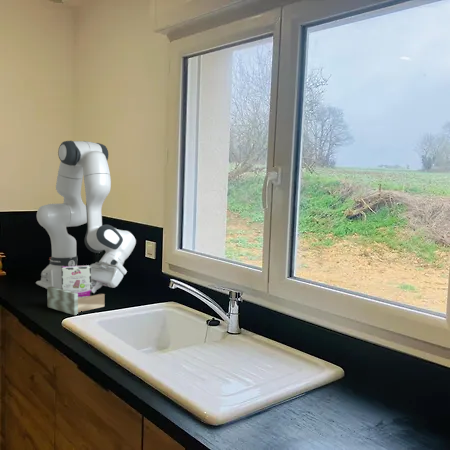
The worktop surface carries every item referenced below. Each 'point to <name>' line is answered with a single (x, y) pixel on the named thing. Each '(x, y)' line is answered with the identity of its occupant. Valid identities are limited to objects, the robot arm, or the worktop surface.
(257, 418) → the worktop surface
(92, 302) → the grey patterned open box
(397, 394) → the worktop surface
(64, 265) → the robot arm
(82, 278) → the candy bar box
